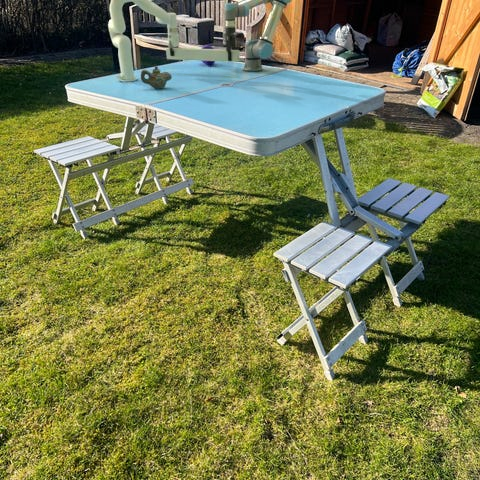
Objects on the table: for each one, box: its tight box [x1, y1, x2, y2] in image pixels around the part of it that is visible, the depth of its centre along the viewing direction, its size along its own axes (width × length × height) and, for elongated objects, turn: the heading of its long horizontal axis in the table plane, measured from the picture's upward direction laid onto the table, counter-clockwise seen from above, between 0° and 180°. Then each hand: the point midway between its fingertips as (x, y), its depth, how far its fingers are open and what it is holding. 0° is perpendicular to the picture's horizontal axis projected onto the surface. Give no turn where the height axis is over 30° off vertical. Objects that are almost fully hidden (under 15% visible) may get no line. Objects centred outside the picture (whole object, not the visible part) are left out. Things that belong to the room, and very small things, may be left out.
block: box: [165, 47, 241, 63], centre depth 348 cm, size 60×6×8 cm, turn 69°
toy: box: [200, 45, 216, 67], centre depth 391 cm, size 16×18×27 cm
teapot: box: [140, 65, 173, 90], centre depth 311 cm, size 21×12×15 cm, turn 109°
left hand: (174, 55), depth 356 cm, fingers closed on block, 6 cm apart
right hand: (231, 60), depth 342 cm, fingers closed on block, 6 cm apart
